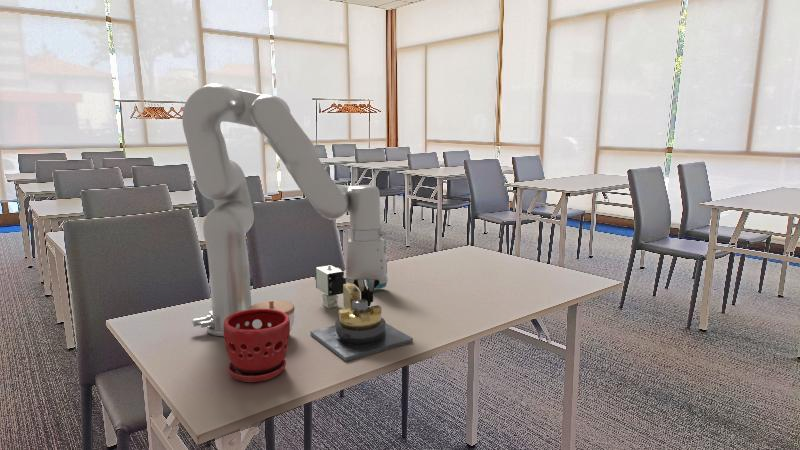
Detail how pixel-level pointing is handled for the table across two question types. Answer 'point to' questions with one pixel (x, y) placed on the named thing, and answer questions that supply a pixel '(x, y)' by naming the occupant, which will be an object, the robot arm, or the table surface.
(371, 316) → the gold slotted fixture
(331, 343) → the housing
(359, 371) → the table surface
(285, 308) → the lidded jar
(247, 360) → the plant pot
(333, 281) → the pneumatic valve
